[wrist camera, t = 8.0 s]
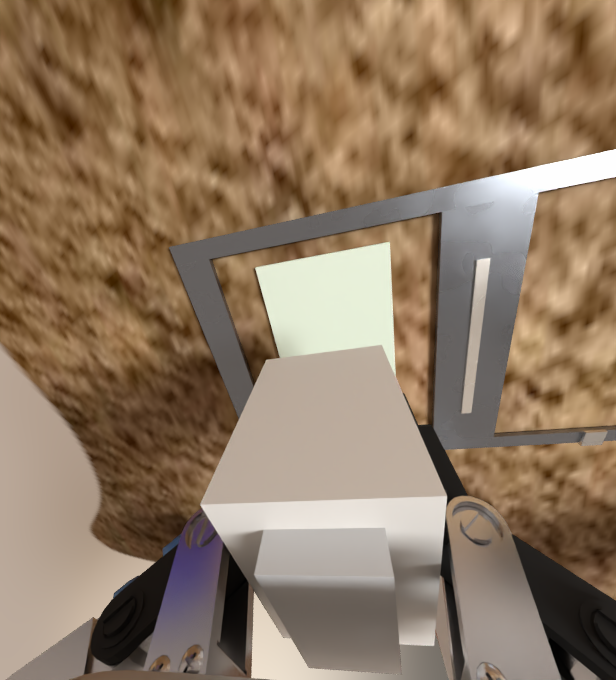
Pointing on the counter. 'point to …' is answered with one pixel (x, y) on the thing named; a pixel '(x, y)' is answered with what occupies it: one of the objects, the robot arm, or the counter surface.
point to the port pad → (331, 301)
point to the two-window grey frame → (452, 291)
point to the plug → (334, 509)
